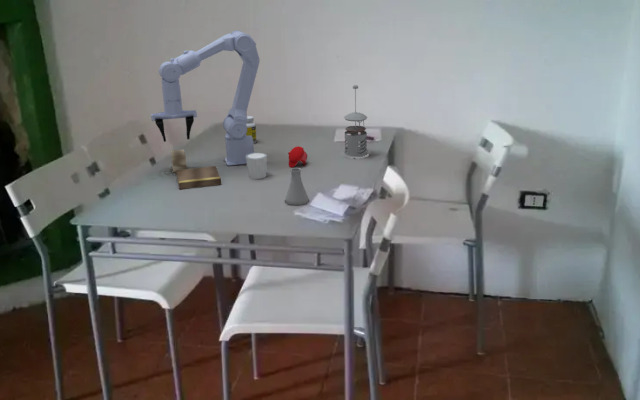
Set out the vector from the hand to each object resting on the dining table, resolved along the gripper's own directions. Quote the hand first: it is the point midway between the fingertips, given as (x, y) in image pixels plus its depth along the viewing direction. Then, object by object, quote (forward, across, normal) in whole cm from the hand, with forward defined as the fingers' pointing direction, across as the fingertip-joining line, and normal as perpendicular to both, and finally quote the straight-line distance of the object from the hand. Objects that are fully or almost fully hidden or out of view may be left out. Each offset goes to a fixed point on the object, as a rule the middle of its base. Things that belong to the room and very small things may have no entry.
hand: (176, 139), depth 222 cm
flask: (+11, +31, -41) cm, 53 cm away
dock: (+10, +5, -13) cm, 17 cm away
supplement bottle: (+11, +28, +24) cm, 38 cm away
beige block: (+10, 0, 0) cm, 10 cm away
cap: (+11, +39, -8) cm, 41 cm away
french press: (+11, +62, -4) cm, 63 cm away
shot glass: (+11, +24, -15) cm, 30 cm away
